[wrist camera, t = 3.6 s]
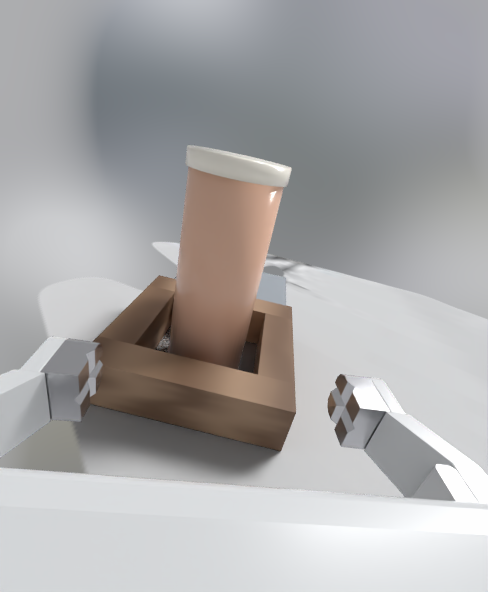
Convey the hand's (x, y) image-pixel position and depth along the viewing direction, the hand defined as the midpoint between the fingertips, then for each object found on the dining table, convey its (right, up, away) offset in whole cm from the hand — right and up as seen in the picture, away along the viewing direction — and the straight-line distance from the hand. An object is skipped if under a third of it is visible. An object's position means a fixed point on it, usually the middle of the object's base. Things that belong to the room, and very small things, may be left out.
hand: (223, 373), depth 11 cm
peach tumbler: (-3, -2, +16) cm, 17 cm away
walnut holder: (-3, -3, +15) cm, 16 cm away
